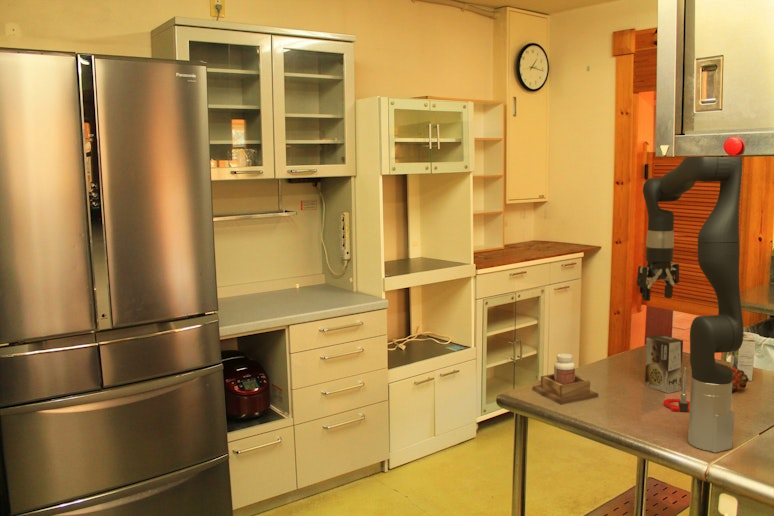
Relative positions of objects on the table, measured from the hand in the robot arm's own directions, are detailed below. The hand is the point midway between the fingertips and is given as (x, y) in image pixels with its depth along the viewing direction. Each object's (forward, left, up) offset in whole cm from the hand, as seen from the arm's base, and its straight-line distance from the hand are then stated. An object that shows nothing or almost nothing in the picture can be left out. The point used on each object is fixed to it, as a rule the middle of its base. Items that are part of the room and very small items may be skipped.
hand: (657, 299), depth 196 cm
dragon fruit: (-6, -24, -30) cm, 39 cm away
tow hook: (-10, 0, -30) cm, 32 cm away
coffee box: (+4, -8, -30) cm, 32 cm away
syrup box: (0, -38, -30) cm, 49 cm away
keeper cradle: (+13, +23, -30) cm, 40 cm away
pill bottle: (+13, +23, -29) cm, 39 cm away
